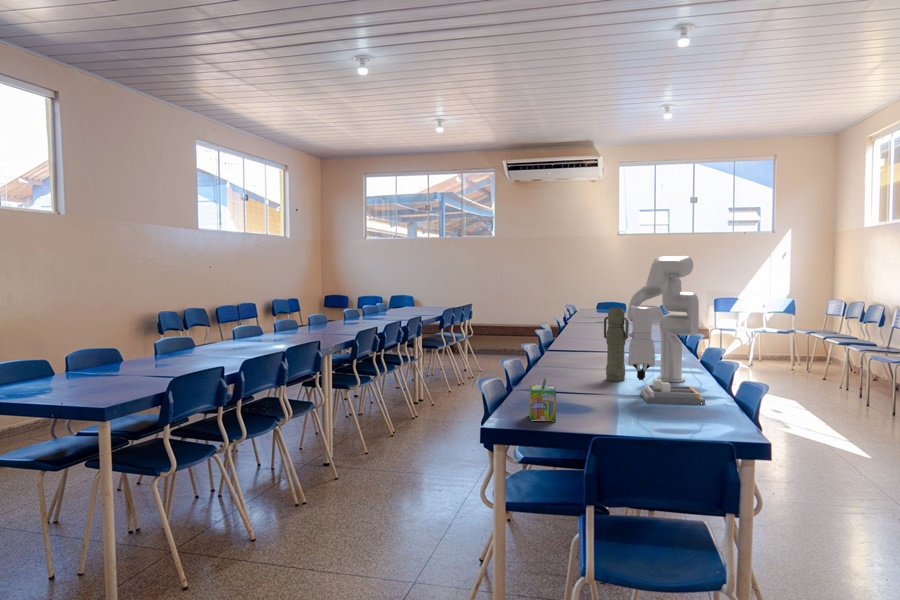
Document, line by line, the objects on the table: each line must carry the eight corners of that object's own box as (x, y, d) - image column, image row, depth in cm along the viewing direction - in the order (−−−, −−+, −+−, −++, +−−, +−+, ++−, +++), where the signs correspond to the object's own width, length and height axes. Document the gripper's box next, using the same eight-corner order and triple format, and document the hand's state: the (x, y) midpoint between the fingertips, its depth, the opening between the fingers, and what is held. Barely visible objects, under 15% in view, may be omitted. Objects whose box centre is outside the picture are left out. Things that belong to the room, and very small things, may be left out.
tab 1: (654, 392, 232) (654, 381, 232) (652, 390, 237) (652, 379, 236) (662, 392, 232) (662, 381, 232) (660, 390, 236) (660, 379, 236)
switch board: (646, 402, 225) (646, 392, 224) (640, 393, 240) (640, 384, 240) (705, 404, 221) (705, 394, 221) (694, 395, 236) (695, 386, 236)
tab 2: (662, 395, 226) (662, 384, 226) (660, 393, 230) (660, 382, 230) (670, 396, 226) (670, 384, 225) (668, 393, 230) (668, 382, 230)
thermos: (625, 382, 264) (626, 308, 262) (600, 380, 270) (601, 307, 268) (630, 379, 272) (631, 307, 270) (606, 377, 278) (606, 306, 276)
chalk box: (528, 415, 207) (528, 375, 206) (554, 415, 206) (554, 376, 205) (529, 422, 197) (529, 380, 197) (556, 422, 196) (556, 381, 196)
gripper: (624, 336, 232) (623, 380, 232) (662, 337, 229) (661, 382, 230) (622, 335, 239) (621, 377, 240) (658, 335, 236) (658, 378, 237)
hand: (641, 379), depth 235 cm, fingers closed
